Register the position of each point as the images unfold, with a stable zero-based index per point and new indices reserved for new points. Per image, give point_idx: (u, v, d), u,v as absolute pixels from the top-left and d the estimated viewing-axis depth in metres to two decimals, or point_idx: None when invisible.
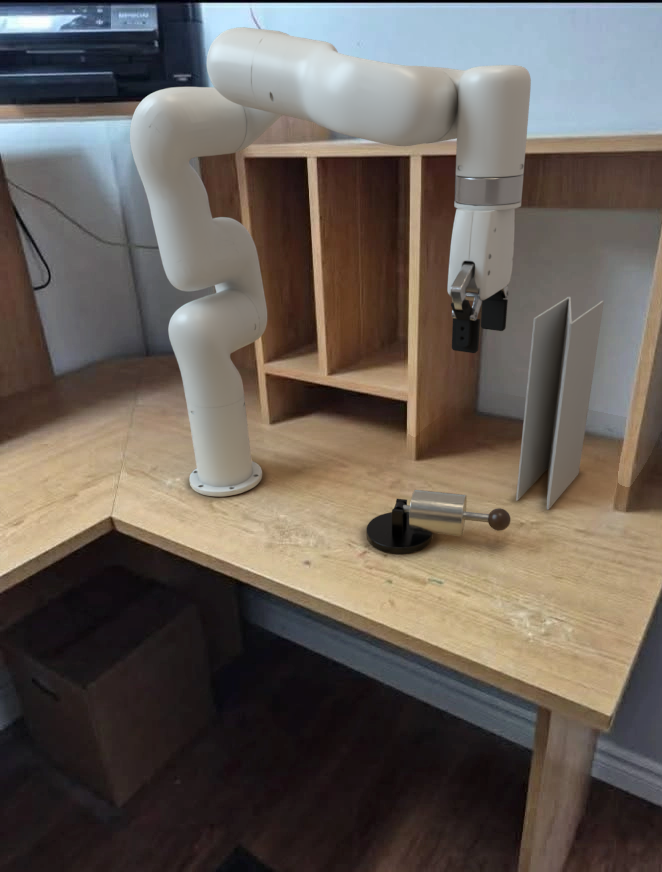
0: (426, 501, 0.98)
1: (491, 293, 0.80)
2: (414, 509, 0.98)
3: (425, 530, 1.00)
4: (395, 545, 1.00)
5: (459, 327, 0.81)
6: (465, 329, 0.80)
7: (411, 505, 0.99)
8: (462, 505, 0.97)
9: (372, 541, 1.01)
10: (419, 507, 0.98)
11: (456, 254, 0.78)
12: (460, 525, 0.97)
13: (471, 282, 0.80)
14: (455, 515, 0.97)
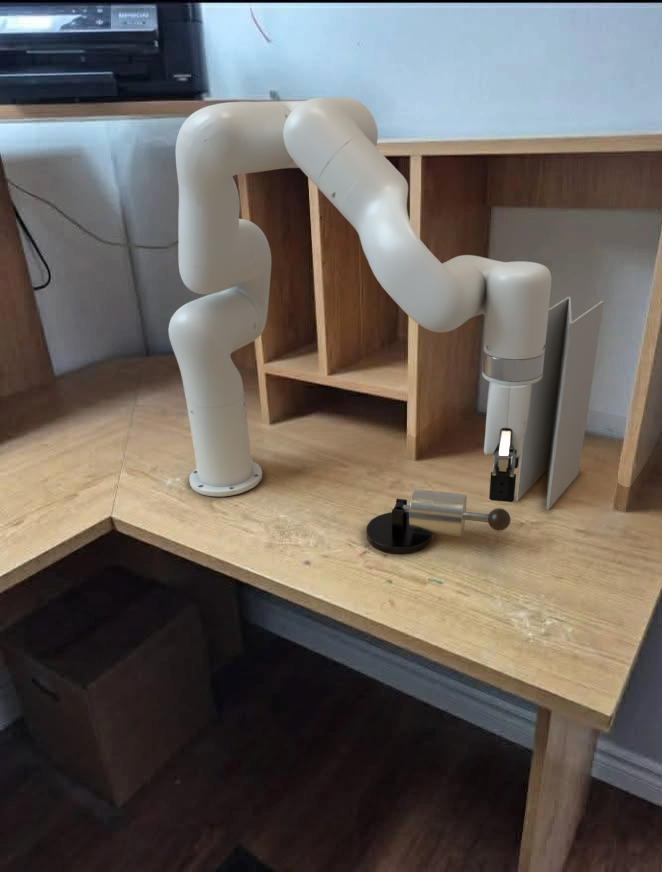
0: (426, 501, 0.98)
1: None
2: (414, 509, 0.98)
3: (425, 530, 1.00)
4: (395, 545, 1.00)
5: (498, 483, 0.89)
6: (504, 484, 0.89)
7: (411, 505, 0.99)
8: (462, 505, 0.97)
9: (372, 541, 1.01)
10: (419, 507, 0.98)
11: (494, 422, 0.86)
12: (460, 525, 0.97)
13: None
14: (455, 515, 0.97)
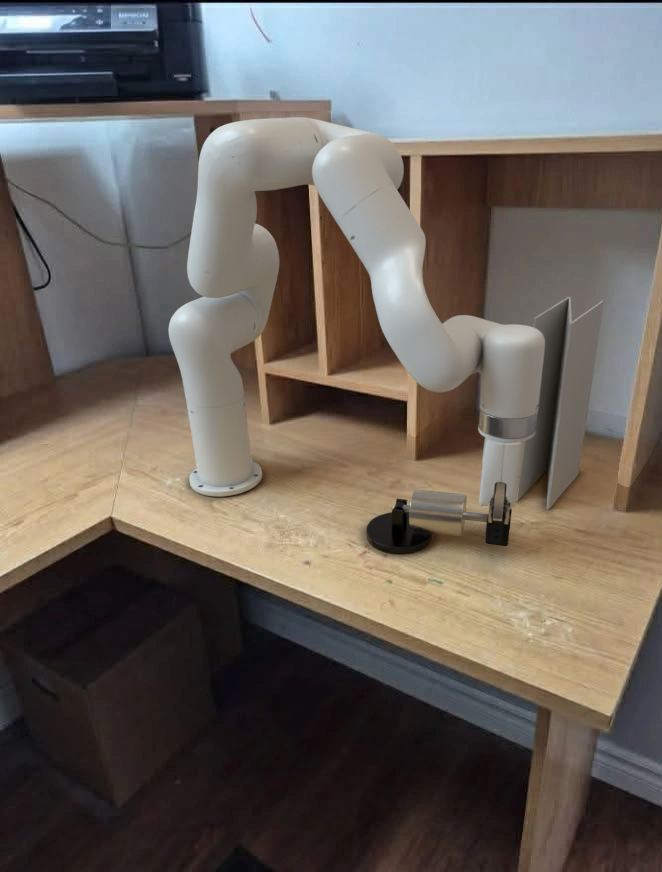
0: (426, 501, 0.98)
1: None
2: (414, 509, 0.98)
3: (425, 530, 1.00)
4: (395, 545, 1.00)
5: (494, 529, 0.96)
6: (499, 530, 0.96)
7: (411, 505, 0.99)
8: (462, 505, 0.97)
9: (372, 541, 1.01)
10: (419, 507, 0.98)
11: (489, 476, 0.90)
12: (460, 525, 0.97)
13: None
14: (455, 515, 0.97)
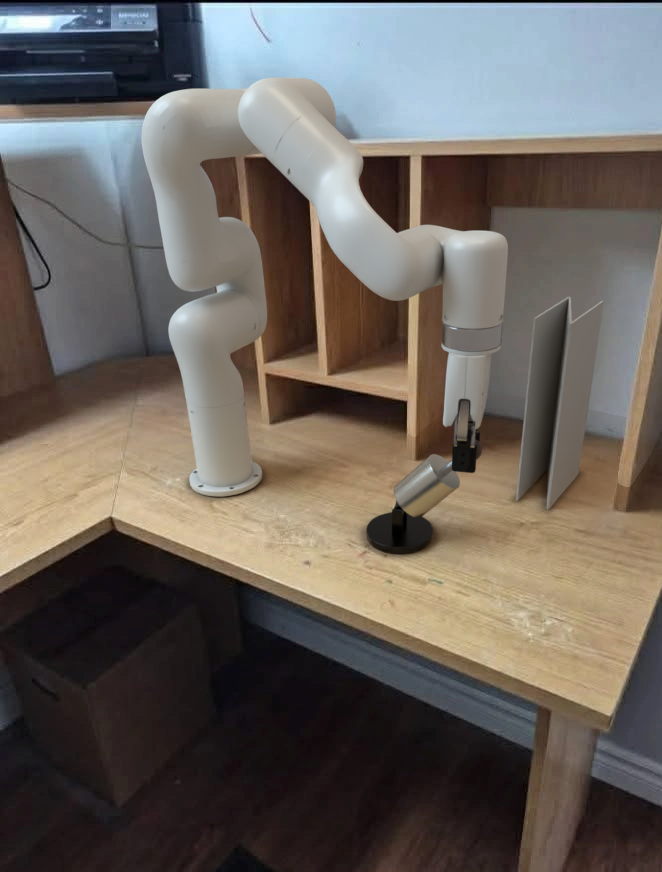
0: (404, 485, 0.98)
1: (481, 421, 0.89)
2: (400, 499, 0.98)
3: (425, 508, 0.98)
4: (395, 545, 1.00)
5: (460, 454, 0.92)
6: (465, 455, 0.92)
7: (396, 498, 0.99)
8: (429, 464, 0.95)
9: (372, 541, 1.01)
10: (402, 494, 0.98)
11: (452, 393, 0.86)
12: (440, 481, 0.95)
13: None
14: (429, 476, 0.95)
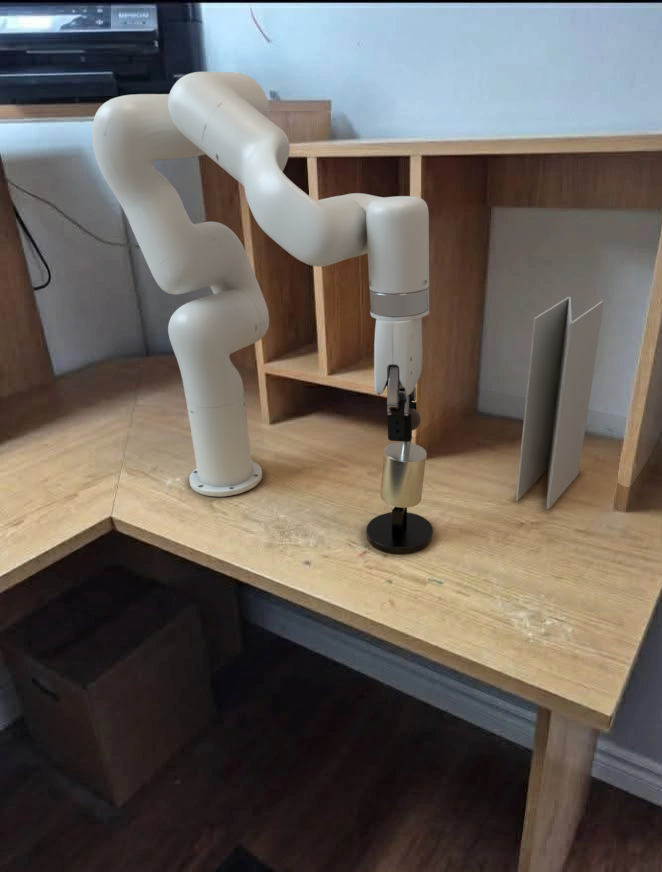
0: (382, 486, 0.99)
1: (413, 388, 0.90)
2: (386, 499, 0.99)
3: (411, 493, 0.97)
4: (395, 545, 1.00)
5: (394, 422, 0.92)
6: (400, 423, 0.92)
7: (384, 500, 0.99)
8: (385, 454, 0.96)
9: (372, 541, 1.01)
10: (385, 494, 0.99)
11: (381, 359, 0.86)
12: (400, 461, 0.95)
13: None
14: (390, 463, 0.96)
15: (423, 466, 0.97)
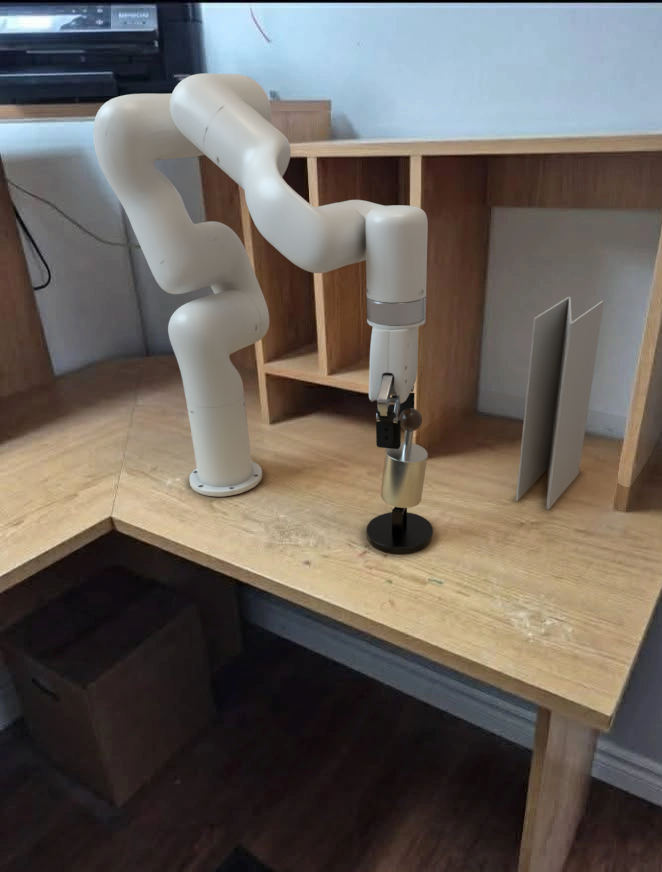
0: (383, 485, 0.99)
1: (407, 396, 0.90)
2: (386, 499, 0.99)
3: (411, 493, 0.97)
4: (395, 545, 1.00)
5: (383, 429, 0.90)
6: (389, 430, 0.90)
7: (384, 500, 0.99)
8: (386, 454, 0.96)
9: (372, 541, 1.01)
10: (385, 494, 0.99)
11: (376, 367, 0.87)
12: (401, 462, 0.95)
13: None
14: (391, 463, 0.96)
15: (424, 466, 0.97)
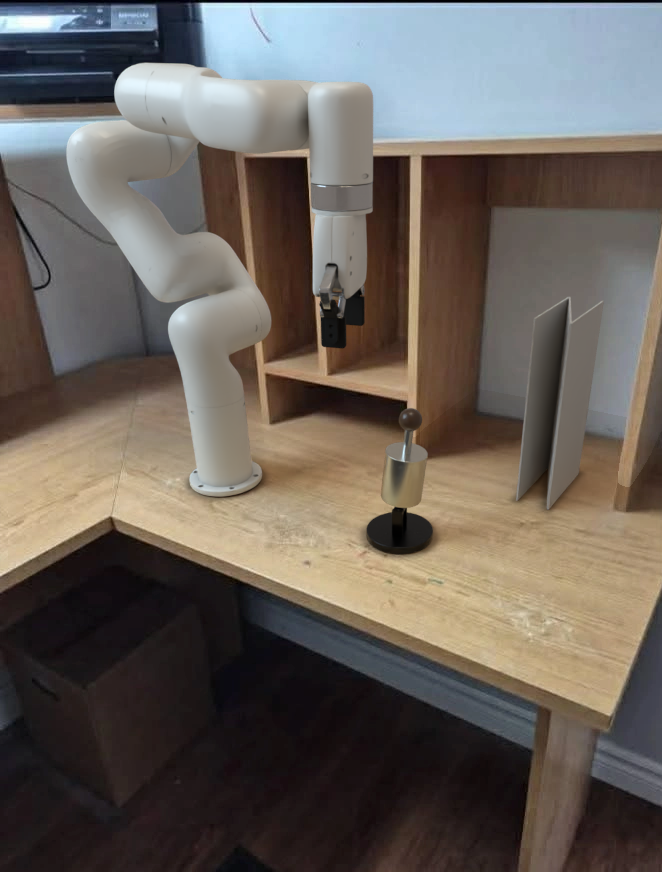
0: (383, 485, 0.99)
1: (353, 292, 0.87)
2: (386, 499, 0.99)
3: (411, 493, 0.97)
4: (395, 545, 1.00)
5: (327, 325, 0.86)
6: (333, 327, 0.86)
7: (384, 500, 0.99)
8: (386, 454, 0.96)
9: (372, 541, 1.01)
10: (385, 494, 0.99)
11: (319, 257, 0.83)
12: (401, 462, 0.95)
13: (334, 282, 0.86)
14: (391, 463, 0.96)
15: (424, 466, 0.97)
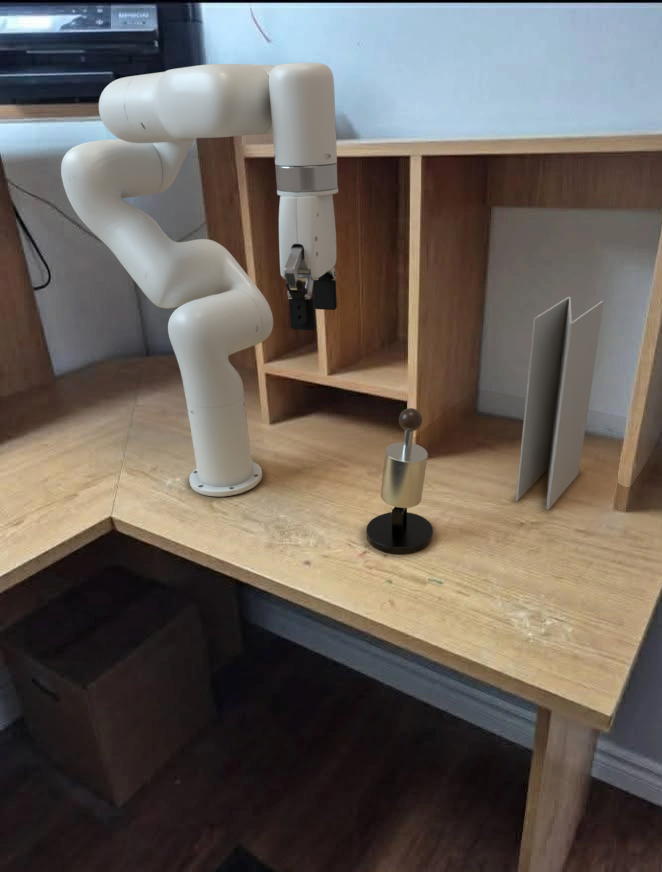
0: (383, 485, 0.99)
1: (321, 273, 0.87)
2: (386, 499, 0.99)
3: (411, 493, 0.97)
4: (395, 545, 1.00)
5: (295, 307, 0.86)
6: (301, 308, 0.86)
7: (384, 500, 0.99)
8: (386, 454, 0.96)
9: (372, 541, 1.01)
10: (385, 494, 0.99)
11: (285, 238, 0.84)
12: (401, 462, 0.95)
13: (301, 264, 0.86)
14: (391, 463, 0.96)
15: (424, 466, 0.97)
